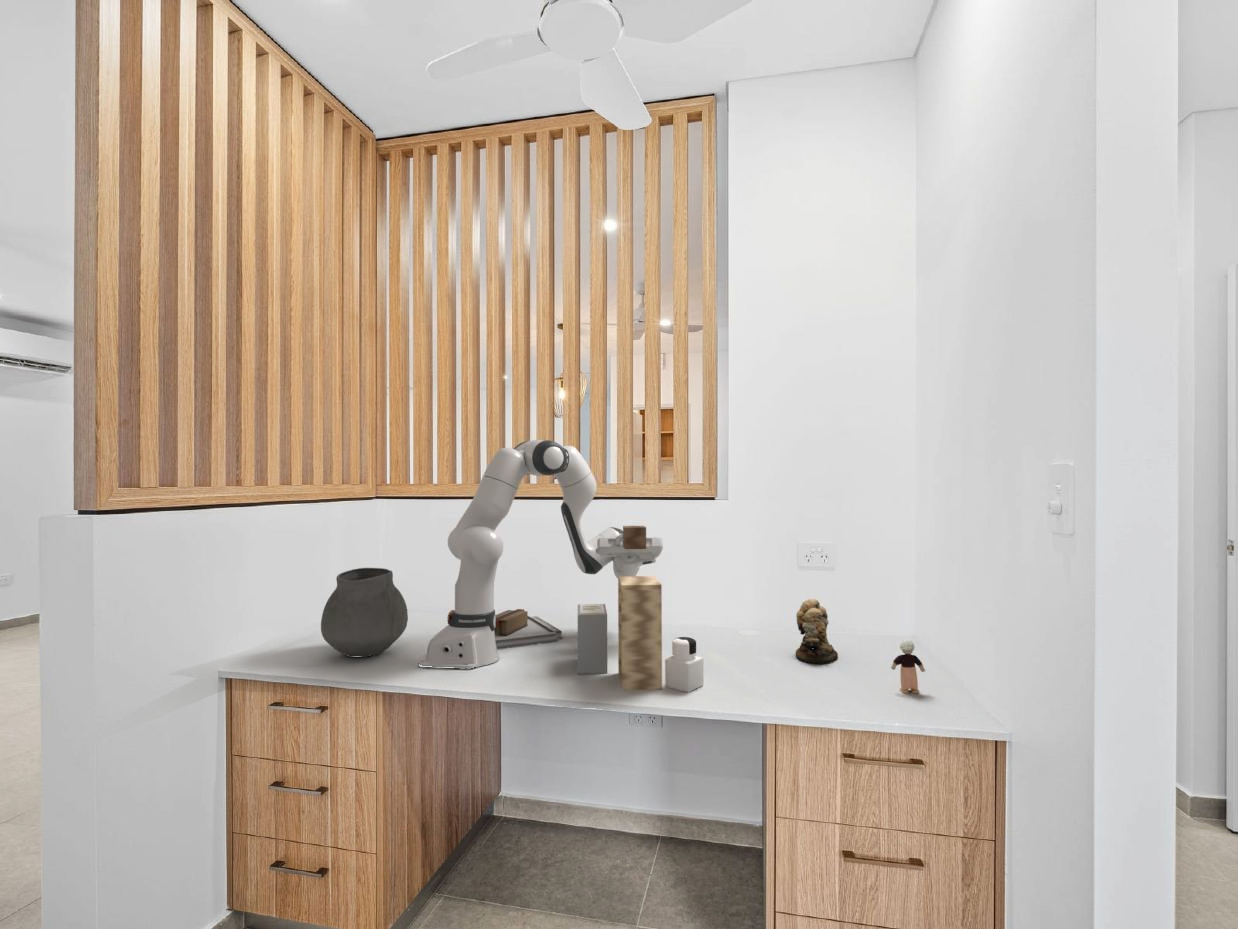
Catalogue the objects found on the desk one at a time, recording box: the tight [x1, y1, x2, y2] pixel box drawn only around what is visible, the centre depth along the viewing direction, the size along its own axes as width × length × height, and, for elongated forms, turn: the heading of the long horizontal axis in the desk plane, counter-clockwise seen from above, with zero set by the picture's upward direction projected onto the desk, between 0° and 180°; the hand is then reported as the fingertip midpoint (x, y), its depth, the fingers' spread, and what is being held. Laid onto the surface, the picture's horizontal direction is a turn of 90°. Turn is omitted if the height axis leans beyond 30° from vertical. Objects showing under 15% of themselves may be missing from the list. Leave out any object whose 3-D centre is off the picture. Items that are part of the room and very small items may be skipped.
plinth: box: [577, 603, 608, 675], centre depth 177 cm, size 8×14×16 cm, turn 4°
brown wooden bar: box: [622, 525, 647, 549], centre depth 184 cm, size 6×18×6 cm, turn 4°
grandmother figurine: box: [890, 639, 926, 694], centre depth 155 cm, size 8×4×13 cm, turn 92°
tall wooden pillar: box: [617, 575, 663, 691], centre depth 164 cm, size 10×14×26 cm
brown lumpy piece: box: [795, 598, 839, 665], centre depth 186 cm, size 18×12×17 cm, turn 159°
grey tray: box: [494, 608, 563, 650], centre depth 212 cm, size 30×30×8 cm
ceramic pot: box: [320, 567, 409, 657], centre depth 190 cm, size 24×24×25 cm
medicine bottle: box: [664, 636, 704, 693], centre depth 160 cm, size 7×7×12 cm
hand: (631, 535), depth 189 cm, fingers closed on brown wooden bar, 4 cm apart
